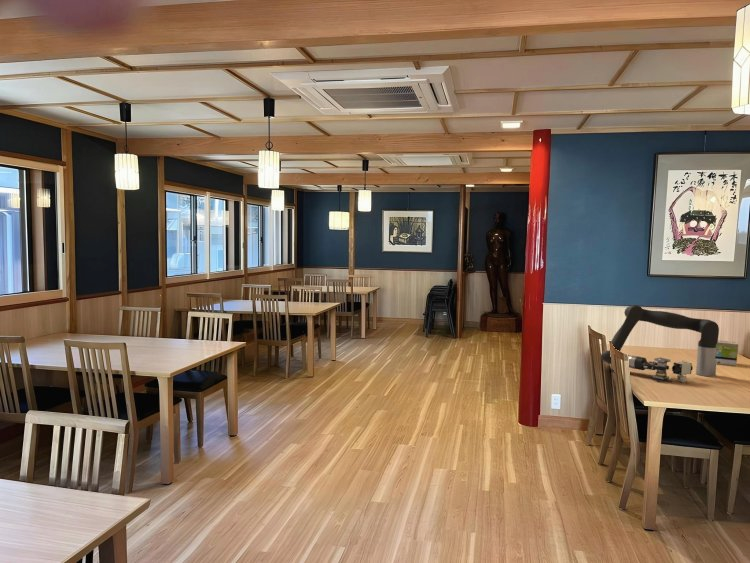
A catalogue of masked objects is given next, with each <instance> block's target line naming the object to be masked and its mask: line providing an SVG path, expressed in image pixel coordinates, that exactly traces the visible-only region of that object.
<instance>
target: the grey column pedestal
mask: <svg viewBox="0 0 750 563" xmlns="http://www.w3.org/2000/svg"><path fill="white" fill-rule="evenodd" d="M653 360H654V362H657V366H662V367H665V371H662V370H656V371H655V374H653V375H652V377H654V378H658V379H662V380H664V379H668V380H670V375H669V376H668V373H667V366H668V363H669V362H671V359H670V358H665V357H661V356H660V357H654V359H653Z"/></svg>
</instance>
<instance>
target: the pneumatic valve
mask: <svg viewBox="0 0 750 563" xmlns="http://www.w3.org/2000/svg"><path fill="white" fill-rule="evenodd" d="M693 368H694V367H693V363H692V362H689V361H688V362H687V361H684V360H682V361H677V362H673V365H672V366H671V371H672V374H674V375H677V376H676V377H677V378H676V382H679V383H686V382H687V375H692V372H693Z"/></svg>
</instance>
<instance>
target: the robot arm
mask: <svg viewBox="0 0 750 563" xmlns="http://www.w3.org/2000/svg"><path fill="white" fill-rule="evenodd" d="M623 313H624V315H625V320H624V321H623V323H622V325H621V326H620V327H619V329H618V330H617V331H616V332H615V334H614V336H613V338H611V341H610V343H611V342H612V344H613V346H614V347H615V349H617V350H619V351H620V352H621V350H622V348H623V347H624V344H626V341H627V340H628V337H629V335H630V334H631V332H632V331H633V329H634V328H635V326H636V325H637V324H638V322H646V323H650V324H653V325H657V326H659V327H660V326H661V327H665V328H669V329H676V330H688V331H689V330H690V331H694V332H696V333H700V339H699V341H698V343H697V353H696V354H697V356H696V369H695V374H696V375H698V376H702V377H703V376H704V377H716V375H717V374H716V373H717V364H716V362H717V361H716V360H715V353H716V344H717V342H718V340H719V335H720V327H719V324H718V323H717V322H716V321H713V320H711V319H707V318H706V319H703V318H694V317H689V316H685V315H682V314H679V313H675V312H670V311H662V310H651V309H650V310H649V309H645V308H643V307H641V306H640V305H637V304H635V305H634V304H633V305H629V306H627V307H626V308H625V309H624V312H623ZM627 355H628V354H627ZM600 356H601V360H602V361H603V362H605V363H606V364H608V365H612V364H611V357H610V349H609V350H605V351H603V352H601V355H600ZM628 357H629V367H628V368H630V369H635V370H638V371H645V370H650V371H657V370H662V371H665V367H662V366H657V362H658V361H655V360H654V361H652V360H650V361H648V360H647V358H646V357H642V356H637V355H631V354H629V355H628ZM667 370H668V371H669V370H670V365H667V369H666V371H667Z"/></svg>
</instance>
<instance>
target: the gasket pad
mask: <svg viewBox="0 0 750 563" xmlns="http://www.w3.org/2000/svg"><path fill="white" fill-rule="evenodd" d="M650 379H651V380H653V381H655V380H656V381H655V382H657V383H658V382H661V383H662V382H663V383H672V382H673V381H672V380H670V379H664V380H662V379H658V378H654V377H653V376H652V377H651V376H650Z"/></svg>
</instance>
